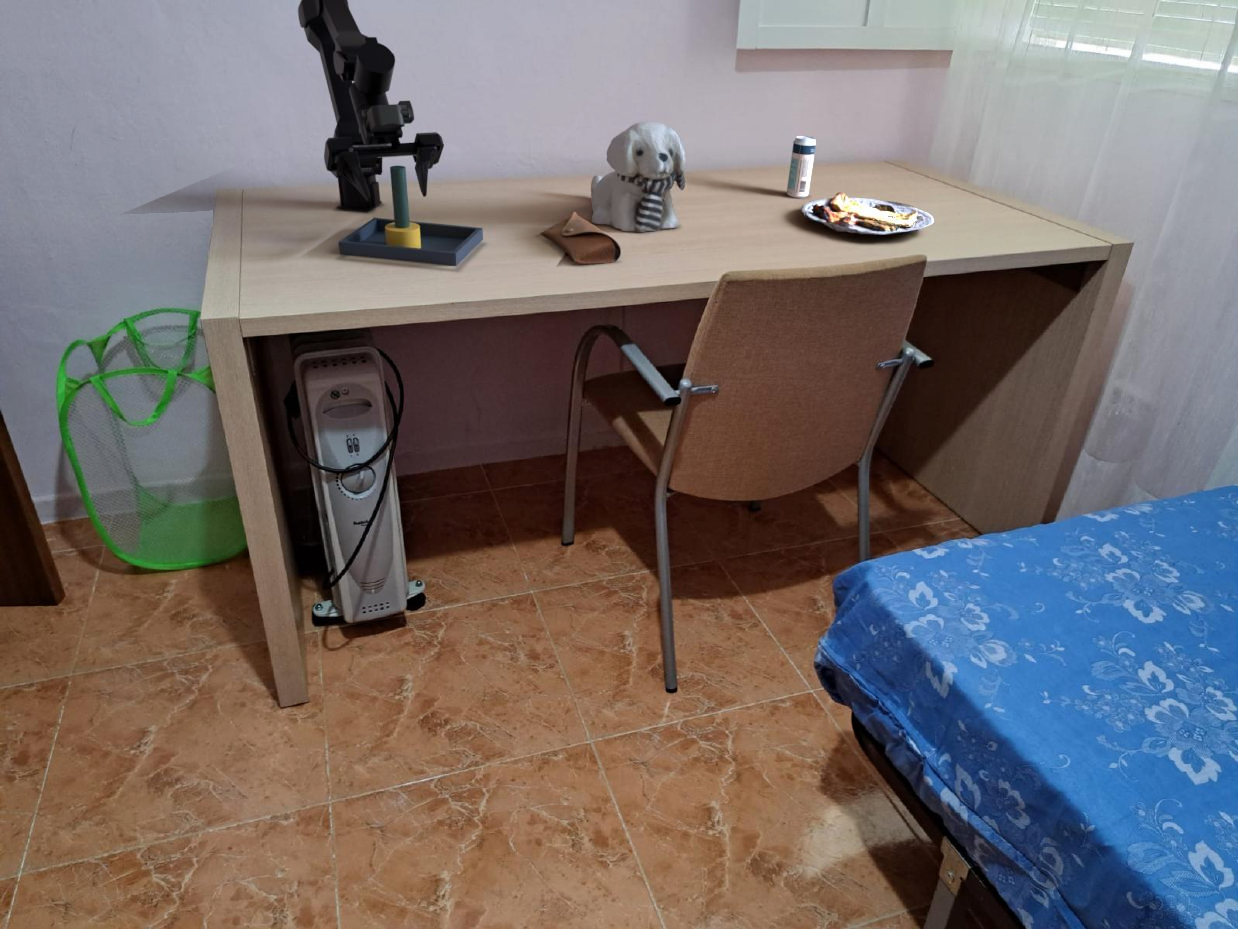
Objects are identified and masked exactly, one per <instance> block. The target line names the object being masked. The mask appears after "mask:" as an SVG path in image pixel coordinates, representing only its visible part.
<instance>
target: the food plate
mask: <svg viewBox="0 0 1238 929" xmlns="http://www.w3.org/2000/svg"><path fill="white" fill-rule="evenodd" d="M800 213H801V214H802V215H801V216H802V217H804V218H807V217H808V220H810V221H816V222H818V223H822V224H823V225H825V226H827V227H828V228H829V229H832V230H834V231H835V232H841V233H845V232H847V233H851V234H855V233H856V234H860V235H872V236H876V235H879V236H886V235H895V234H900V233H906V232H911V231H919V230H920V229H924V228H927V227H929V226H930V225H933V224H934V217H933V215H931V214H930V213H928V212H926V211H924V210H921V209H918V208H916V207H914V205H910V204H907V203H902V202H897V201H892V200H891V201H890V200H883V199H874V198H863V197H848V195H846V194H845V193H844V192H837V193H836V194H835V196H833V197H831V198H829V197H828V198H827V197H826V198H820V199H815V200H810V201H808V202H806V203H804V204H802V206H801V210H800ZM888 216H893V218H892V217H888ZM894 217H895V218H894ZM873 219H874V220H873ZM878 220H879V221H878ZM915 221H917V222H918V223H917V222H915ZM914 222H915V223H914ZM892 223H894V224H892ZM913 223H914V225H913ZM895 224H897V225H895ZM900 225H901V226H900ZM911 225H913V226H912V227H906V226H911ZM885 230H886V231H885Z"/></svg>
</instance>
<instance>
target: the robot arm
mask: <svg viewBox="0 0 1238 929" xmlns="http://www.w3.org/2000/svg"><path fill="white" fill-rule="evenodd" d="M297 15H298V21H299V25H300V28H302V29H303V30H304V34H305V37H306V41H307V42H308V43H309V44H310V45H311V46H312V47H313V48H314V49H315V50H316V51H317V53H318V54H319V57H320V60H321V65H322V69H323V73H324V78H325V81H326V85H327V89H328V94H329V97H330V102H331V106H332V110H333V113H334V114H333V115H334V118H335V122H336V126H335V129H334V132H333V136H332V137H328V138H327V139H326V141H325V144H324V153H323V160H324V165H325V168H326V171H327V172H330V173H331V174H332V175H333V177H335V178H336V179H337V184H338V185H337V186H338V193H339V202H340V204H338V205H337V206H336V209H337V210H344V211H354V212H366V213H369V212H372V211H373V210H374V209H377V208H378V207H379V206H380V205H382V203H383V202H382V200H381V193H380V184H379V181H377V176H382V175H383V174H382V173H383V159H384V158H392V157H393V158H394V157H396V158H397V157H410V156H412V158H413V162H414V163H415V164H414V165H415V166H414V170H415V174H416V179H417V183H418V187H419V189H420V192H421V195H422V197H423V198H425V197H427V194H428V179H429V170H430V169H432V168H433V167H434V166H435V165H436V164H438V163H439V162H440V159H441V156H442V153H443V150H444V147H445V144H444V141H443V137H442V135H440V134H439V133H438V132H437V131H435V132H434V131H432V132H431V131H430V132H416V134H415V137H414V141H413V142H401V140H400V139H402V138H403V136H404V132H403V130H402V129H403V127H405V125H408V124H412V123H413V121H415V113H414V108H413V105H412V103H411V100H399V101H398V103H397V104H396V103H395V104H394V103H393V104H390V103H389V99H388V96H387V92H389V91H390V88H391V84H392V78H393V74H394V70H395V65H396V57H395V54H394V52H392V51H391V49H390V48H388V47H387V46H386V45H384V44H382V43H380V42H379V41H378V37H377V36H368V35H365V34H363V33H362V32H361V30H360V28H359V26H358V24H357V21H356V20H355V17H354V16H353V13H352V12H351V10H350V5H349V1H348V0H300V3H299V5H298V7H297Z"/></svg>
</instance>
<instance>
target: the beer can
mask: <svg viewBox="0 0 1238 929" xmlns="http://www.w3.org/2000/svg"><path fill="white" fill-rule="evenodd" d="M816 145H817V142H816V138H815V137H813V136H808V135H798V136H796V137H795V139H794V141H793V143H792V150H791V156H790V157H791V158H790V165H789V171H788V172H789V173H788V179H787V187H786V194H787V195H788V197H791V198H795V199H804V198H806V197H808V196H809V194H810V186H811V179H812V174H813V165H814V161H815V160H814V159H815V152H816Z"/></svg>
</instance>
